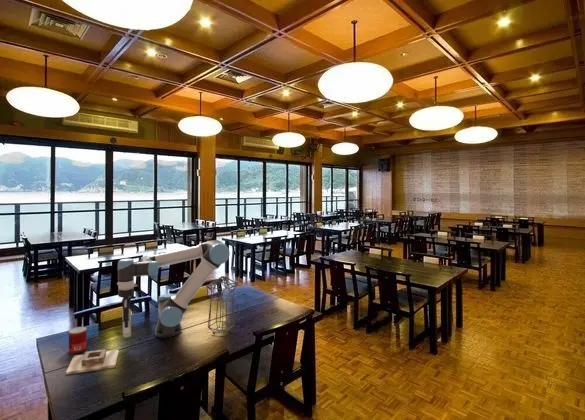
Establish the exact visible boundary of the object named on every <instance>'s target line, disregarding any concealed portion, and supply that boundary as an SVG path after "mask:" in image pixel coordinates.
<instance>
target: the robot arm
mask: <svg viewBox="0 0 585 420" xmlns="http://www.w3.org/2000/svg"><path fill="white" fill-rule="evenodd" d="M229 258H230V249H229V247H228V245H226V244H225V243H224V242H222V241H220V240H218V239H212V240H209V241H205V242H201V243H199V244H198V245H196V246H195V245H194V246H190V247H186V248H181V249H175V250H173V251H172V250H171V251H169V252H164V253H158V254H154V255H150V256H149V255H144V256H142V257H141V258H140V259H139V261H138V262H137V261H134V259H133V258H122V259H119V260H118V262H117V283H116V285H117V287H118V292H117V295H118V297H119V298H122V300H121V305H122V311H123V318H122V320H121V322H122V323H123V322H124V333H130V327H129V309H131V301H132V300H131V299H132V296H134V295H135V288H134V287H135V277H144V276H145V277H146V276H155V275H157V274H158V273H159V271H158V270H159V268H162V267H167V266H170V265H175V264H179V263H183V262H188V261H192V260H196V259H201V262H200V263H199V264H198V266H197V267H196V268H195V269H194V271H193V272H191V274H190V276H189V277H188V278H187V280H186V281H185V282H184V283H183V285H182V286H181V287H180V289H179V290H178V291H177V292H176V293H167V294H166V293H165V294H161V295H159V296H158V300H157V301H158V306H157V307H158V308H157V309H158V311H157V313H158V314H157V316H158V318H157V319H158V321H157V323H156V327H155V328H154V335H155V336H156V337H158V338H162V339H163V338H164V339H167V337H169V338H173V337H172V336H174V337H176V336H175V335H177V336H178V334H179V333H180V334H181V333H182V332H181V331H183V329H182V328H183V326H182V324H181V322H182V320H183V316H184V314H185V312H186V311H187V310H188V309H189V306H188V305H189V303H190V302H191V300H192V299H193V298H194V297H195V295H196V294H197V292H198V291H199V290H200V288H202V286H203V285H204V284H205V282H206V281H207V279H208V278H209V277H210V275H211V274H212V273H213V271H215V270H218V269H219V268H220V267H221V265H223V264H226V262H227V261H228V259H229ZM180 334H179V335H180Z"/></svg>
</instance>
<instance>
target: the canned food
mask: <svg viewBox="0 0 585 420" xmlns="http://www.w3.org/2000/svg"><path fill="white" fill-rule="evenodd" d="M87 337H88V330H87V327H86V326H77V327H74V328H73V327H72V328H70V330H69V331H68V352H69V353H70V354H78V353H82V352H85V350H87V347H88V346H87V345H88V344H87V343H88V341H87V339H88V338H87Z"/></svg>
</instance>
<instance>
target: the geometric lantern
mask: <svg viewBox="0 0 585 420" xmlns="http://www.w3.org/2000/svg"><path fill="white" fill-rule="evenodd" d="M217 285H218V286H217ZM220 285H222V286H223V287H224V288H220ZM238 286H239V282H236V281H234V280H233V279H230V278H229V277H227V276H225V275H221V276H220V277H218V278H217V279H215V280H213V281H212V282H209V284H207V285H205V287H206V288H207V289H209V290H210V302H209V309H208V310H209V311H208V318H207V319H208V321H207V328H208V329H210V331H211V332H212V334H214V335H215V333H219V334H222V336H223V335H224V336H225V335H227V334H226V333H227V332H229V330H230V331H231V329H232V328H233V327H234V326H235V325H236V323H235V321H236V320H235V318H236V317H235V304H234V303H235V302H234V298H235V289H236V288H237V287H238ZM227 290H228V292H229V293H228V294H227V295H226V294H224V292H225V291H227ZM214 294H216V295H215V296H214ZM222 296H225V297H226V298H225V300H224V299H223V297H222ZM229 296H230V297H231V298H229V299H228V297H229ZM216 297H217V299H215V301H217V302H216V303H217V305H216V312H215V313H216V316H215V322H213V323H212V324H211V317H212V301H214V298H216ZM227 299H228V300H227ZM231 300H232V302H231V303H232V305H231V306H232V307H231V309H232V310H231V311H232V314H231V317H232V322H230V321H229V322H228V305H227V304H228V303H227V302H228V301H231ZM221 301H222V302H221ZM219 302H220V303H219ZM224 302H225V305H224ZM219 304H220V307H219ZM224 306H225V307H224ZM218 308H219V309H220V310H219V320H217V319H218ZM224 308H225V319H226V320H225V321H224V312H222V309H224ZM221 316H222V317H221ZM215 324H216V328H212V326H213V325H215ZM218 324H219V326H218ZM221 324H222V325H221ZM224 324H225V325H226V327H225V326H224ZM228 324H231V325H230V326H229V327H228ZM219 328H220V330H219ZM221 328H222V329H221ZM217 330H218V331H217ZM226 330H227V331H226ZM216 331H217V332H216Z"/></svg>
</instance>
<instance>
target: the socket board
mask: <svg viewBox="0 0 585 420" xmlns="http://www.w3.org/2000/svg"><path fill="white" fill-rule="evenodd" d="M119 353H120V350H119V349H115V350H107V349H106V348H105V349H96V350H89V351H84V354H77V355H74V356H73V357H72V359H71V361H70V363H69V365H68V368H67V369H66V371H65V375H73V374H81V373H86V372H92V371H100V370H106V369H113V368H116V366H117V362H118V357H119Z"/></svg>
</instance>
